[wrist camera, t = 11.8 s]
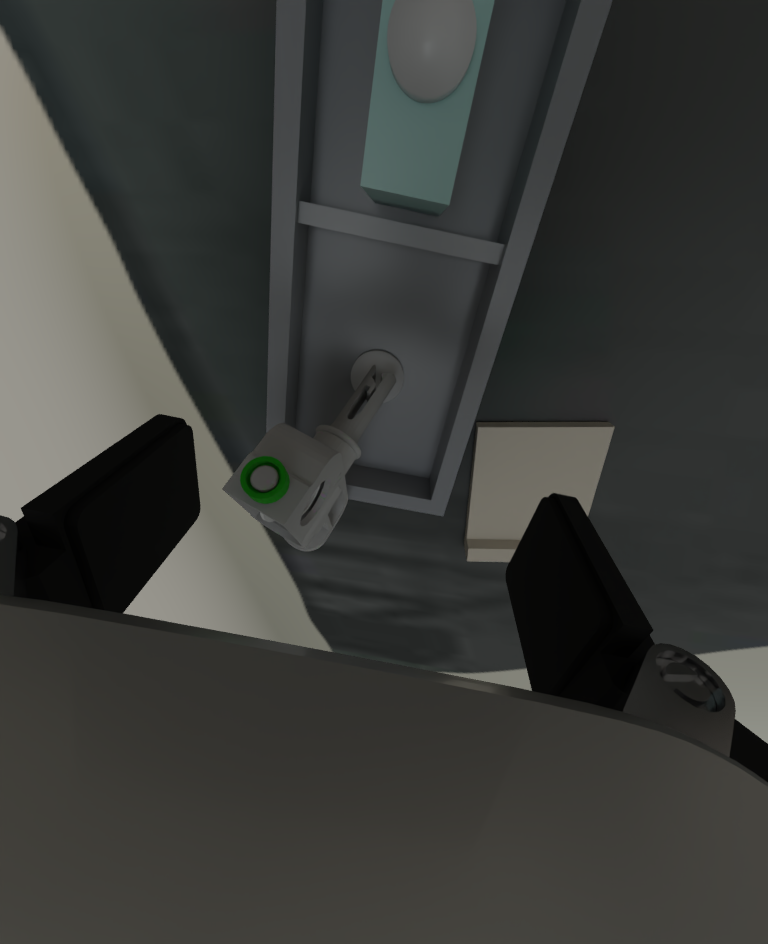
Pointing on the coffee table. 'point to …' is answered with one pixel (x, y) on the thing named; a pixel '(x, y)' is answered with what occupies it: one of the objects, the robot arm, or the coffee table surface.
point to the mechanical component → (307, 470)
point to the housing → (410, 212)
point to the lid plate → (527, 478)
